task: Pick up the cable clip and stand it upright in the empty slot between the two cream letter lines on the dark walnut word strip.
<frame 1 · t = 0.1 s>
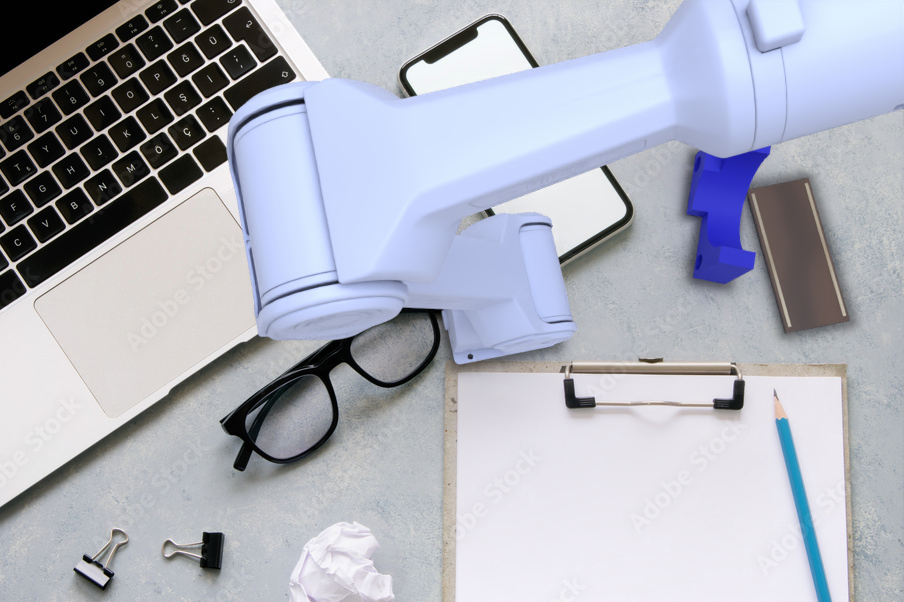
cable clip: (709, 219, 71), on the table
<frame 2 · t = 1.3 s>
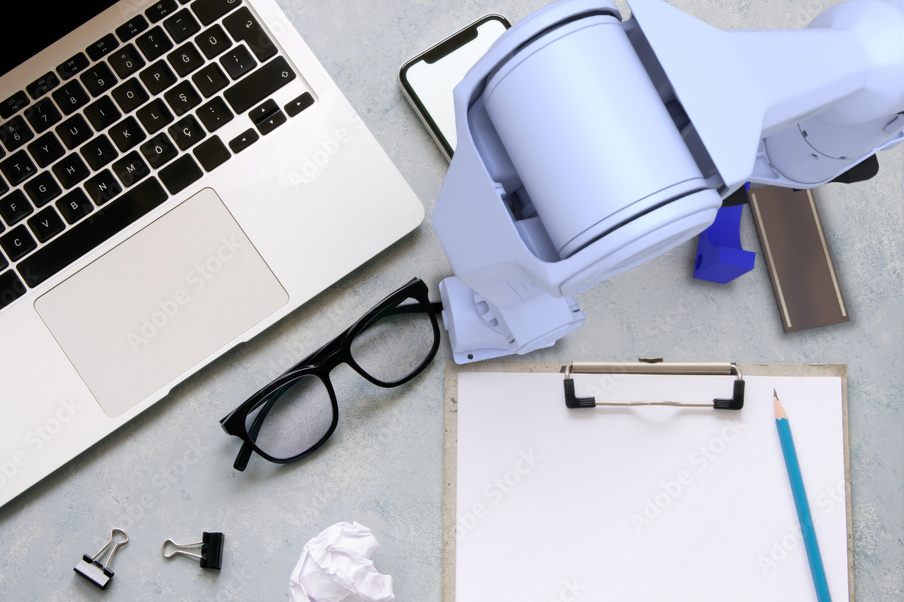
hand: (749, 188, 63), 8 cm above the table, tool pointing down, fingers open, 7 cm apart
nothing on the table moved.
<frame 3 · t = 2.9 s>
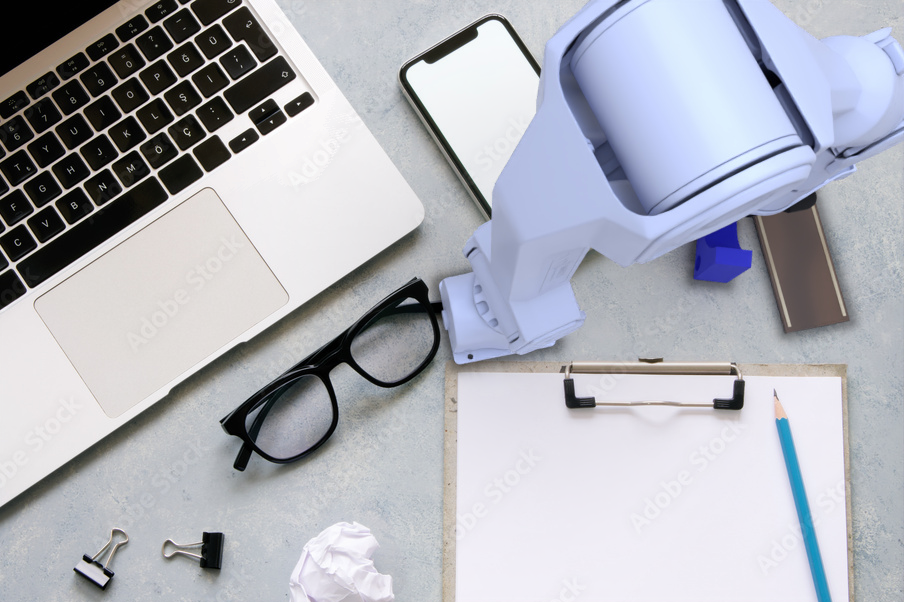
hand: (719, 211, 69), 2 cm above the table, tool pointing down, fingers closed on cable clip, 4 cm apart
cable clip: (706, 219, 71), on the table, touching gripper
when the fingers open (2 cm above the table, at t = 6.9 s): cable clip stays where it is, resting on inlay.
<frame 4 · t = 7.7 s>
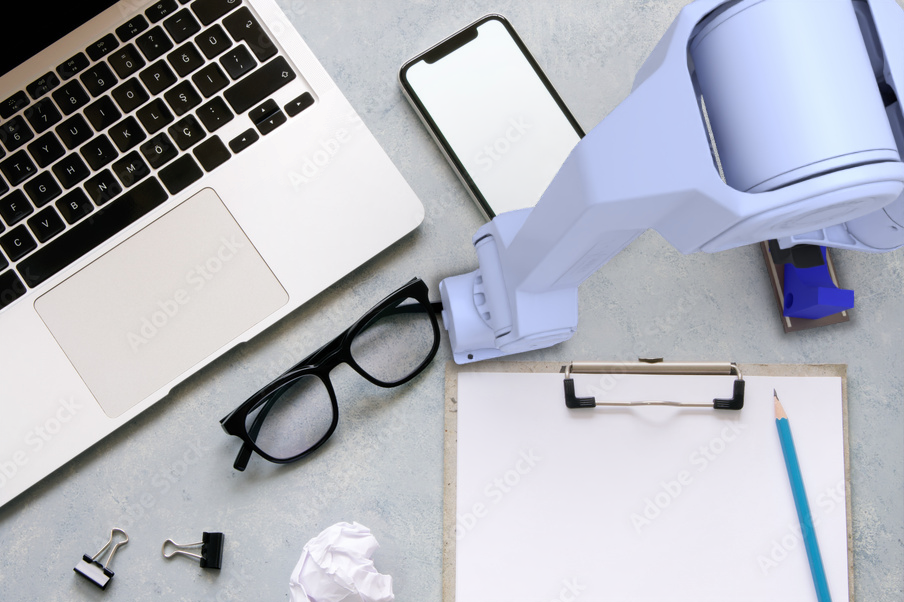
hand: (816, 244, 67), 4 cm above the table, tool pointing down, fingers open, 7 cm apart
cable clip: (791, 254, 70), resting on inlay
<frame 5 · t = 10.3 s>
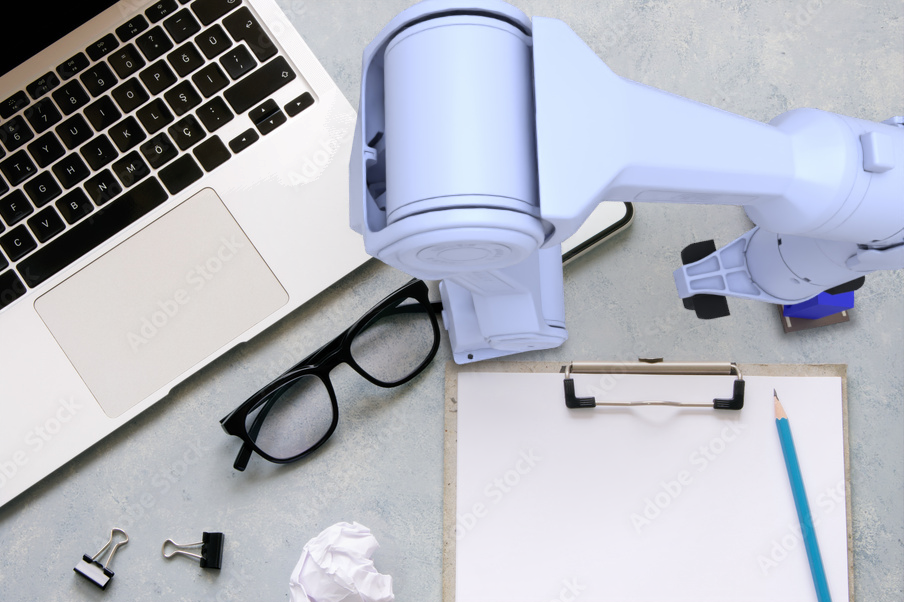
hand: (732, 287, 61), 9 cm above the table, tool pointing down, fingers open, 7 cm apart
nothing on the table moved.
at the end: cable clip 0.5 cm from the target spot, resting on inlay; cable clip tilted 0°; the gripper is holding nothing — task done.
